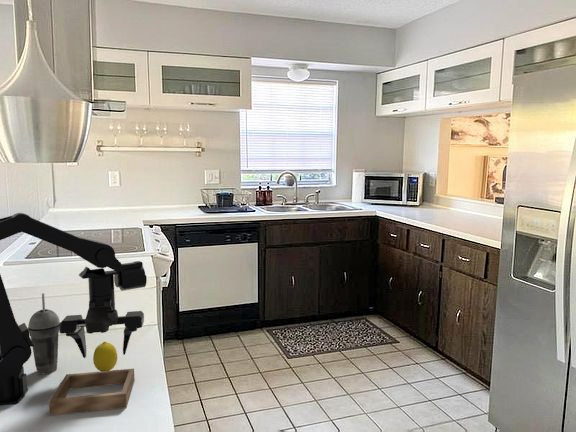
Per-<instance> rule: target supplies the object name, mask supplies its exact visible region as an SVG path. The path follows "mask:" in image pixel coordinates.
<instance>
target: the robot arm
mask: <svg viewBox="0 0 576 432" xmlns="http://www.w3.org/2000/svg"><path fill="white" fill-rule="evenodd" d="M20 233H25V234H27V235H30V236H32V237H34V238H37V239H39V240H41V241H43V242H47V243H49V244H52V245H54V246H56V247H59V248H62V249H65V250H67V251H69V252H71V253H73V254H75V255H77V256H78V257H80V258H81V259H83V260H84V261H86V262H88V263H89V264H90V265H92V266H95V267H96V268H93V269H92V268H89V267H88V266H85V267H84V269H83V270H82V271H81V272H80V273H79V274H78V277H80V278H82V279H84V280H85V279H87V280H88V296H89V297H88V300H89V301H88V309H87V313H86V317H85V318H83V315H82V314H75V315H74V314H73V315H70V314H69V315H66V316H65V317H64V318H63V319H62V320H61V321H60V325H59V334H61V335H62V334H65V336H66V337H70V338H72V339H73V341H74V342H75V343H76V346H77V347H78V349H79V351H80V353H81V355H82V358H83V359H86V357H87V342H86V334H89V335H90V334H91V335H93V334H94V333H101V334H103V333H107V332H108V331H109V329H110V327H112V326H116V325H118V326H119V325H124V329H123V343H122V355H123V356H124V355H126V353H127V349H128V346H129V343H130V339H131V336H132V333H134V332H137V331H138V329H141V328H142V327H143V325H144V323H145V314H144V312H143V311H142V310H135V311H127V312H126V314H125V315H124V316H123V315H122V316H119V313H118V310H117V309H116V299H115V298H116V297H115V296H116V295H115V287H116V288H119V290H120V291H122V292H123V291H129V290H136V289H141V288H146V286H147V282H148V281H147V274H146V271H145V268H144V267H143V266H144V265H143V264H144V263H143V261H140V260H137V261H132V262H125V263H122V262H121V261H120V260H119V259H118V258H117V257H116V251H115V249H114V248H113V246H111V245H109V244H107V243H105V242H103V241H98V240H94V239H89V238H85V237H81V236H76V235H74V234H72V233H68V231H67V232H66V231H64V230H61V229H60V228H57V227H55V226H52V225H50V224H48V223H45V222H42V221H40V220H38V219H36V218H34V217H31V216H30V215H28V214H27V213H24V212H16V213H14V214H12V215H10V216H6V217H5V216H4V217H3V218H2V217H1V218H0V241H2V240H4V239H7V238H10V237H12V236H15V235H17V234H20ZM105 268H108V269H110V270H105ZM85 329H86V331H85ZM33 347H34V345H33V343H32V341H31V337H30V334H29V330H28V326H27V325H26V322H23V323H21V324H19V323H18V322H17V321H16V319H15V314H14V313H13V308H12V306H11V303H10V299H9V296H8V294H7V291H6V287H5V284H4V281H3V277H2V275H1V274H0V405H9V404H17V403H19V402H20V401H21V400H22V399H23V397H24V396H25V395H26V393H27V392H28V391H29V387H28V379H27V378H28V377H27V376H28V375H27V373H25V368H24V366H23V365H24V364H26V362H28V361H29V359H30V358H31V356H32V352H33V351H32V348H33Z"/></svg>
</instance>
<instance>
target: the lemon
mask: <svg viewBox="0 0 576 432" xmlns="http://www.w3.org/2000/svg"><path fill="white" fill-rule="evenodd" d="M92 361H93V365H94V368H95V369H96V370H98V372H100V371H112V370H113V369H114V368H115V366H116V365H117V362H118V351H117V349H116V347H115V346H114V344H112V343H110V342H108V341H103V342H101V343H99V344H98V345H97V346H96V347H95V349H94V352H93V358H92Z"/></svg>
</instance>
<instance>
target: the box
mask: <svg viewBox="0 0 576 432" xmlns="http://www.w3.org/2000/svg"><path fill="white" fill-rule="evenodd" d="M135 380H136V379H135V368H125V369H116V370H115V369H114V370H113V369H111V370H109V371H92V372H89V371H88V372H80V373H69V374H65V376H64V377H63V379H62V380H61V382H60V384H58V386H57V388H56V390H55V391H54V392H53V394H52V396H51V397H50V399H49V400H48V408H49V411H48V413H49V416H56V415H58V416H59V415H67V414H77V413H86V412H95V411H103V410H104V411H106V410H115V409H116V410H117V409H124V408H125V409H126V408H127V407H128V403H129V400H130V397H131V394H132V391H133V387H134V383H135ZM121 384H122V385H123V387H122V390H121V392H120V391H119V392H109V393H100V394H89V395H88V394H87V395H79V396H69V397H68V396H67V395H68V393H69V392H70V390H71V389H79V388H89V387H91V388H92V387H101V386H111V385H121Z"/></svg>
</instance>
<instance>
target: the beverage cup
mask: <svg viewBox="0 0 576 432" xmlns="http://www.w3.org/2000/svg"><path fill="white" fill-rule="evenodd" d="M41 301H42V303H41V304H42V305H41V307H42V309H39V310H37V311H36V312H34V313H33V314H32V315H31V317H30V318H29V320H28V321H29V322H28V326H27V328H28V330H29V337H30V339H31V341H32V343H33V345H34V347H32V352H33V358H34V359H33V360H34V365H35V369H36V373H37V374H38V375H47V374H52V373H54V372H56V371H57V370H58V362H59V361H58V360H59V358H58V355H59V334H60V331H59V325H60V323H61V321H60V318H59V317H60V316H59V315H58V314H57V313H56V312H55V311H53V310H51V309H48V308H47V309H46V305H45V304H46V303H45V293H41Z"/></svg>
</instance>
